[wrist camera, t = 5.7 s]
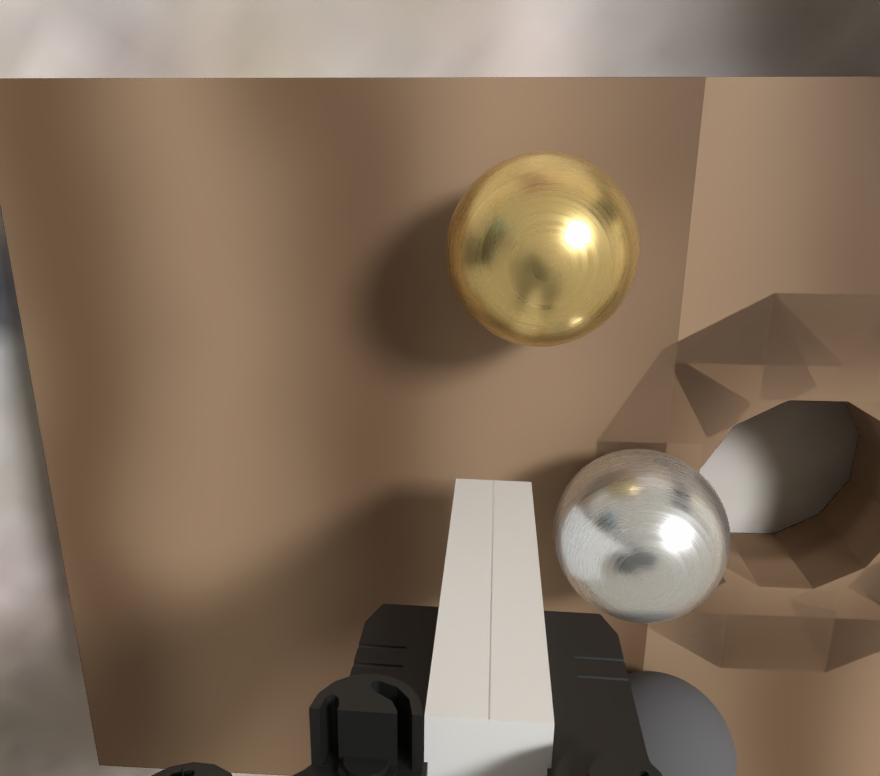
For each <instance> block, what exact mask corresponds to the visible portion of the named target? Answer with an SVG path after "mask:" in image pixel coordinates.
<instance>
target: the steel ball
mask: <svg viewBox="0 0 880 776" xmlns="http://www.w3.org/2000/svg"><path fill="white" fill-rule="evenodd" d="M553 538H554V546H555V552H556V555H557V558H558V561H559V564H560V566H561V569H562V571H563V573H564V575H565V576H566V578H567V580H568V581H569V583H570V584H571V585H572V587H573V588H574V589H575V590H576V592H577V593H578V594H579V595H580V596H581V597H582V598H583V599H584V600H585V601H587V602H588V603H589V604H591V605H592V606H594V607H595V608H596V609H598V610H600V611H601V612H603V613H605V614H607V615H609V616H612V617H614V618H617V619H621V620H624V621H629V622H635V623H658V622H664V621H668V620H672V619H675V618H677V617H680V616H682V615H685V614H687V613H688V612H690V611H692V610H694V609H695V608H696V607H698V606H699V605H701V604H702V603H703V602H704V601H705V600H706V599H707V598H708V597H709V596H710V594H711V593H712V592H713V591H714V589H715V588H716V587H717V585H718V584H719V582H720V580H721V579H722V576H723V574H724V572H725V569H726V566H727V563H728V559H729V555H730V543H731V537H730V527H729V522H728V518H727V514H726V511H725V509H724V506H723V503H722V502H721V500H720V498H719V496H718V495H717V493H716V491H715V489H714V488H713V487H712V486H711V484H710V483H709V482H708V480H707V479H705V478H704V477H703V476H702V475H701V474H700V473H699V472H698V471H697V470H696V469H694V468H693V467H692V466H690V465H689V464H688V463H686V462H684V461H682V460H681V459H679V458H676V457H674V456H672V455H669V454H666V453H663V452H659V451H656V450H649V449H625V450H620V451H615V452H612V453H609V454H606V455H603V456H601V457H599V458H597V459H595V460H594V461H592V462H591V463H589V464H588V465H586V466H585V467H584V468H582V469H581V470H580V471H579V472H578V473H577V474H576V475H575V476H574V477H573V478H572V479H571V481H570V482H569V484H568V485H567V487H566V488H565V490H564V491H563V493H562V495H561V498H560V500H559V502H558V505H557V508H556V512H555V518H554V524H553Z"/></svg>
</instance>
